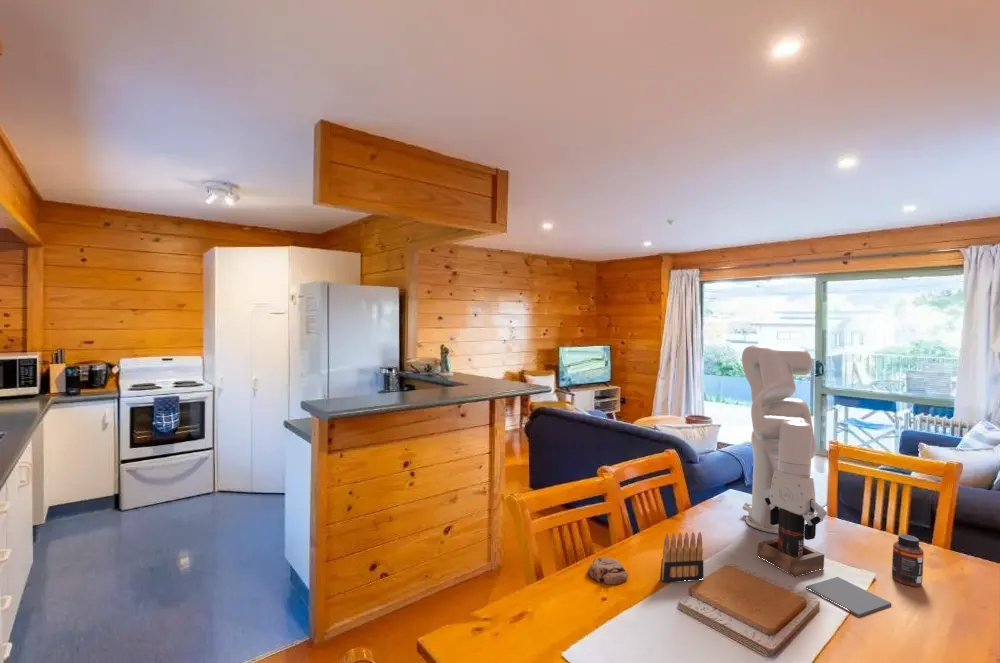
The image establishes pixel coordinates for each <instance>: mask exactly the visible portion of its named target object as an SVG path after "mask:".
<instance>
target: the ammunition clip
mask: <svg viewBox="0 0 1000 663" xmlns="http://www.w3.org/2000/svg"><path fill="white" fill-rule="evenodd" d="M670 537H671V538H670ZM696 540H697V541H696ZM703 550H704V548H703V537H702V533H701V531H699V532H698V535H697V538H696V534H695V532H694V531H692V533H691V536H690V538H689V533H688V532H685V533H684V538H683V536H682V533H681V532H679V533H678V535H677V540H676V534H675V533H674V532H673V533H672V535H671V536H669V534H668V533H666V534H665V537H664V542H663V548H662V559H661V564H660V566H661V567H660V575H659V576H660V577H659V579H660V580H661V581H662V582H663V583H664V584H668V583H669V584H670V583H671V582H673V583H677V582H676V581H684V580H686V581H688V580H699V579H702V578H704V574H705V573H704V560H703V558H704V557H703V553H704V552H703Z"/></svg>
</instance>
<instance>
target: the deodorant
mask: <svg viewBox="0 0 1000 663" xmlns="http://www.w3.org/2000/svg"><path fill="white" fill-rule="evenodd" d="M805 524H806V520H805V519H804V517H803V516H800V515H797V514H794V513H791V512H789V511H787V510H784V509H781V508H779V528H778V533H777V538H778V550H779V551H781V552H783V553H785V554H787V555H789V556H791V557H793V558H796V557H800V556H803V549H804V545H805V538H804V530H805Z"/></svg>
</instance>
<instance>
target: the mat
mask: <svg viewBox="0 0 1000 663" xmlns="http://www.w3.org/2000/svg"><path fill="white" fill-rule="evenodd" d="M806 588H808V589H811V590H812V591H814V592H816V593H818V594H820V595H822V596H823V597H825V598H827V599H829V600H831V601H833V602H835V603H837V604H839V605H841V606H843V607H845V608H847V609H848V610H849V611H850V612H851V613H850V612H849V613H850V614H852V615H854V616H856V617H858V618H859V617H863V616H866V615H868V614H871V613H874V612H878V611H881V610H882V609H886V608H888V607H890V606H892V602H891V601H888V600H886V599H884V598H882V597H880V596H878V595H875V594H874V593H872V592H870V591H867V590H866V589H863V588H861V587H860V586H858V585H855V584H854V583H851V582H849V581H847V580H845V579H844V578H842V577H839V576H836V577H833V578H829V579H825V580H822V581H818V582H815V583H812V584H808V585H806V586H805V589H806ZM808 589H807V590H808ZM812 591H811V592H812ZM823 597H822V598H823Z"/></svg>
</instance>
